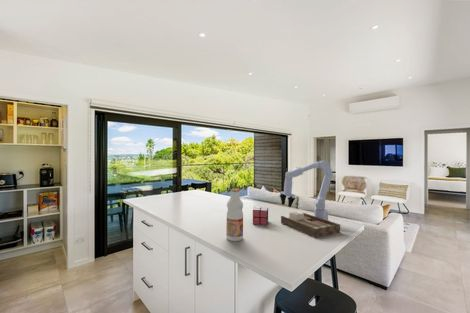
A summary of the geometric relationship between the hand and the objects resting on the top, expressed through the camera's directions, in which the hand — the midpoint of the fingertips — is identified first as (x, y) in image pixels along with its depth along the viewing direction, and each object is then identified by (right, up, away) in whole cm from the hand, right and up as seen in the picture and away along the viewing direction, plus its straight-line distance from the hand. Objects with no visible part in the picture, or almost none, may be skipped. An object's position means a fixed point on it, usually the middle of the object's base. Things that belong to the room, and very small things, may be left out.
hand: (286, 205), depth 166 cm
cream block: (+5, -7, -9) cm, 13 cm away
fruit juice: (-39, -10, -40) cm, 56 cm away
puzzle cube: (-20, -10, -10) cm, 25 cm away
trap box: (+10, -10, -19) cm, 24 cm away
